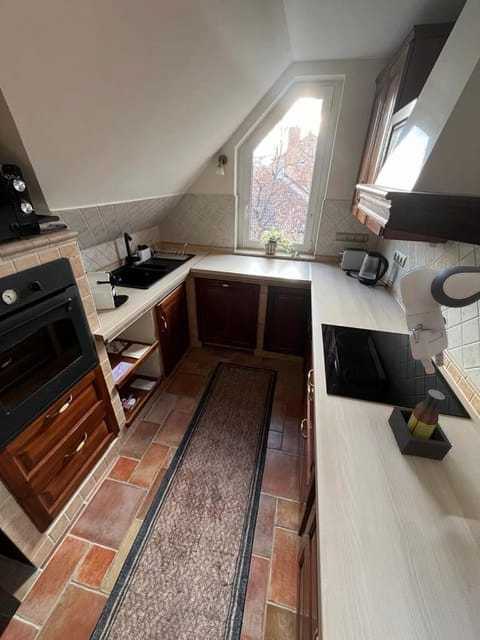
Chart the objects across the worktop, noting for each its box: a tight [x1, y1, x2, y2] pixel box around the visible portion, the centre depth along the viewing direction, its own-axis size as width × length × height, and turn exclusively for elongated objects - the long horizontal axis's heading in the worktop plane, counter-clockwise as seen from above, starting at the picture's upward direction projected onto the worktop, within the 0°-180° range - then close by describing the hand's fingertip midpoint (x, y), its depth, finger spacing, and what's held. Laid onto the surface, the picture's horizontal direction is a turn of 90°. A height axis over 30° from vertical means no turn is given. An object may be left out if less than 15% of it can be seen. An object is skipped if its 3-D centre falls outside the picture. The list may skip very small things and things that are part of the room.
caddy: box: [387, 406, 453, 461], centre depth 80 cm, size 11×12×7 cm
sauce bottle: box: [407, 389, 446, 439], centre depth 77 cm, size 7×6×20 cm
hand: (435, 369), depth 74 cm, fingers open, 8 cm apart
